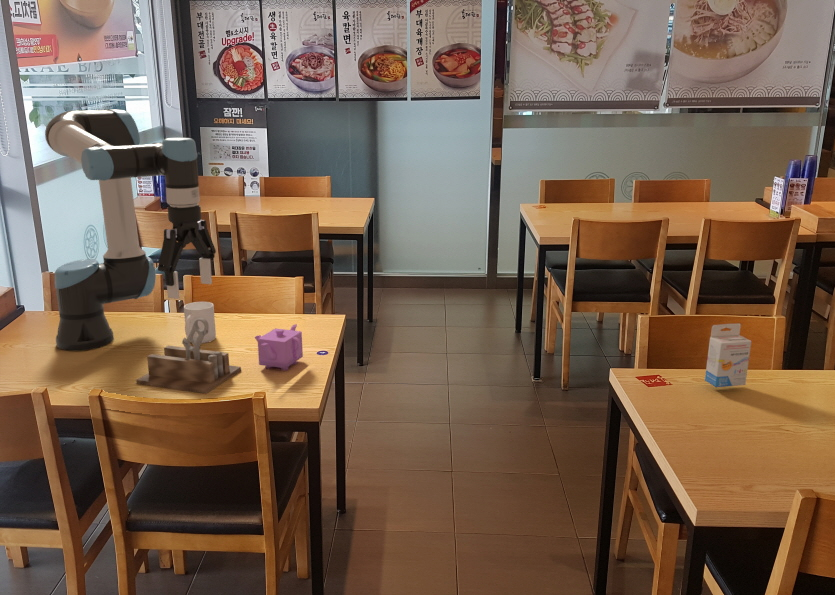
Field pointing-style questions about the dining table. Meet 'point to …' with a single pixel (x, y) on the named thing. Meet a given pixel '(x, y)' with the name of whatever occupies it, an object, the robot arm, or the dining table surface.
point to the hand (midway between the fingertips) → (190, 290)
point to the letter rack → (188, 370)
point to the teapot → (280, 348)
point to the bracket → (198, 341)
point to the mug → (200, 311)
